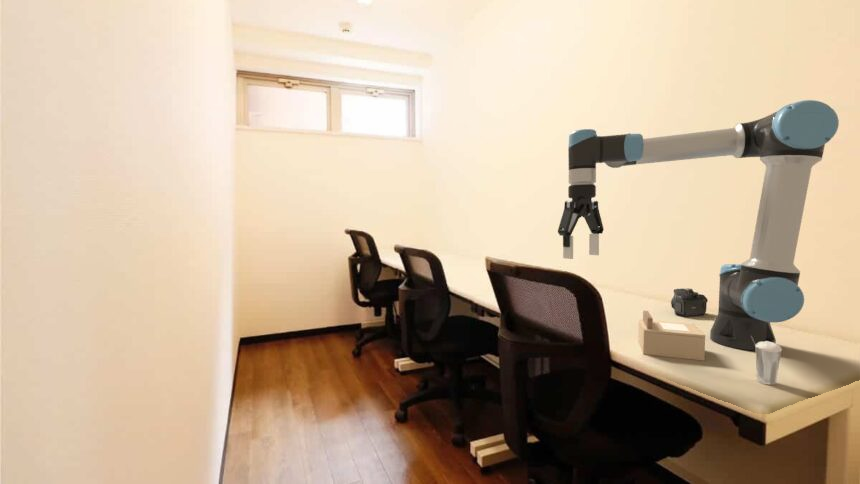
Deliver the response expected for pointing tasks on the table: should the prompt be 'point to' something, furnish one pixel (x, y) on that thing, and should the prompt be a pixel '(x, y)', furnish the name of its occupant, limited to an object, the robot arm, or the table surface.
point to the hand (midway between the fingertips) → (581, 256)
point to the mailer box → (671, 345)
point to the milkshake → (767, 362)
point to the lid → (669, 327)
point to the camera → (688, 302)
